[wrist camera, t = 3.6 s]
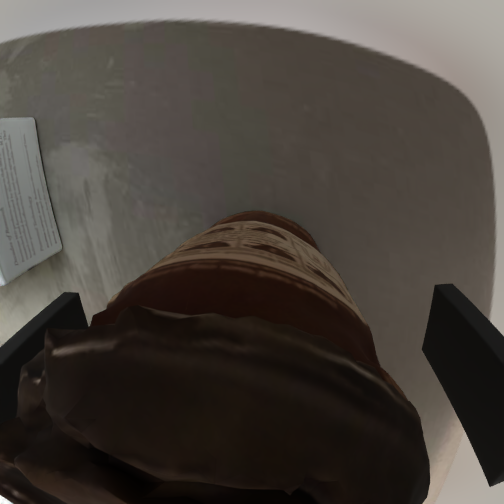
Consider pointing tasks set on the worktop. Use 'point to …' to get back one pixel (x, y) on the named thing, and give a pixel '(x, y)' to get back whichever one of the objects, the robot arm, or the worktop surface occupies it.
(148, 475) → the coffee cup
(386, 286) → the worktop surface
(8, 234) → the small box
